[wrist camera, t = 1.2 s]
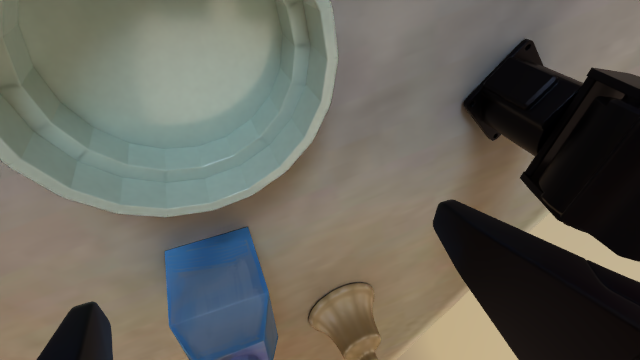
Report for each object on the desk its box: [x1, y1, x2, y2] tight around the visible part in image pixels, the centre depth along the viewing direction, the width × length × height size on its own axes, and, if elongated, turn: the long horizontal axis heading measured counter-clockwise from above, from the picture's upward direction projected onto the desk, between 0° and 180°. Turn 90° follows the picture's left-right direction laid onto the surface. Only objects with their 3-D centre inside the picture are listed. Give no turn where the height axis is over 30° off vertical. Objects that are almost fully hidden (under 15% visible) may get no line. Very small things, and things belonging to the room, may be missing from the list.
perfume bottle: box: [165, 227, 278, 360], centre depth 24 cm, size 6×6×12 cm
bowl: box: [0, 0, 338, 217], centre depth 16 cm, size 14×14×5 cm
